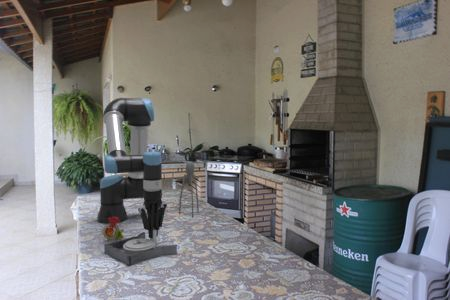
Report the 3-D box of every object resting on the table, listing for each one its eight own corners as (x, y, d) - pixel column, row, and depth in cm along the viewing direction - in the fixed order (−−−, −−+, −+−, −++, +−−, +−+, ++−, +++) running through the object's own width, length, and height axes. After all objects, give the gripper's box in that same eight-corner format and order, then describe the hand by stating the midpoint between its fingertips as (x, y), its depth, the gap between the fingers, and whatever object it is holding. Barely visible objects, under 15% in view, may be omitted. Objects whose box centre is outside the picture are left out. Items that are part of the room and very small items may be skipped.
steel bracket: (101, 251, 155) (100, 242, 154) (144, 239, 169) (144, 231, 169) (133, 268, 138) (133, 258, 137) (178, 253, 152) (177, 245, 152)
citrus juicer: (193, 217, 205) (193, 162, 202) (175, 216, 207) (175, 162, 204) (198, 212, 216) (198, 160, 213) (182, 211, 218) (181, 159, 215)
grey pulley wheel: (141, 245, 162) (141, 234, 162) (161, 252, 154) (161, 240, 154) (116, 254, 152) (116, 242, 152) (137, 261, 144) (136, 249, 144)
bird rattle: (110, 247, 165) (129, 236, 169) (99, 226, 162) (118, 215, 165) (107, 243, 170) (125, 232, 174) (96, 222, 167) (115, 212, 171)
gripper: (144, 193, 149) (145, 251, 151) (170, 188, 158) (171, 243, 160) (134, 190, 154) (134, 246, 156) (160, 186, 163) (160, 239, 166)
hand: (153, 244), depth 158 cm, fingers closed
